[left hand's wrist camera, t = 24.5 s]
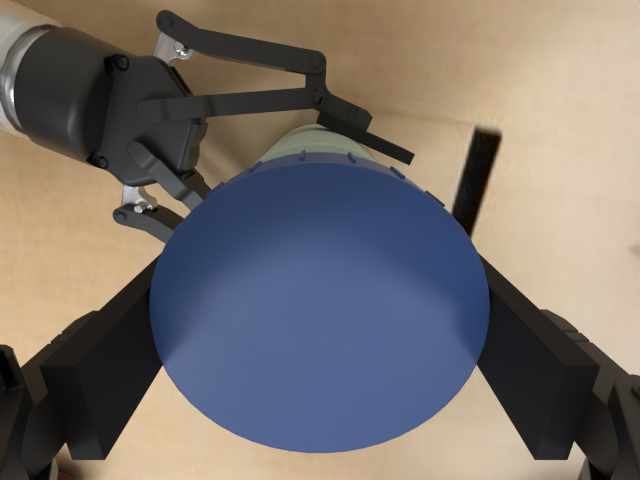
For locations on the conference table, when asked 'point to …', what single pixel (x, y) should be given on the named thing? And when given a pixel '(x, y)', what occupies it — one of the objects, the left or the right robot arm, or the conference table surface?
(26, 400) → the left robot arm
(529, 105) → the conference table surface
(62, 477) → the potato
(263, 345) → the lid
